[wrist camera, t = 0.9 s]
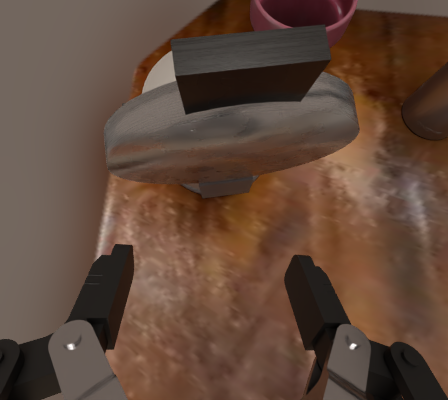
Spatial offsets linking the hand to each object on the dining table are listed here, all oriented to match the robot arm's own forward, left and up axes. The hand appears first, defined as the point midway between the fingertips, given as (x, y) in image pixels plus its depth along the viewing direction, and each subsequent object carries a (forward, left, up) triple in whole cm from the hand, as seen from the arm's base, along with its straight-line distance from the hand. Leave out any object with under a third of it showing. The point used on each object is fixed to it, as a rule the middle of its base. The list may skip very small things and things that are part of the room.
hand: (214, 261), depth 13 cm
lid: (-8, -4, -3) cm, 10 cm away
